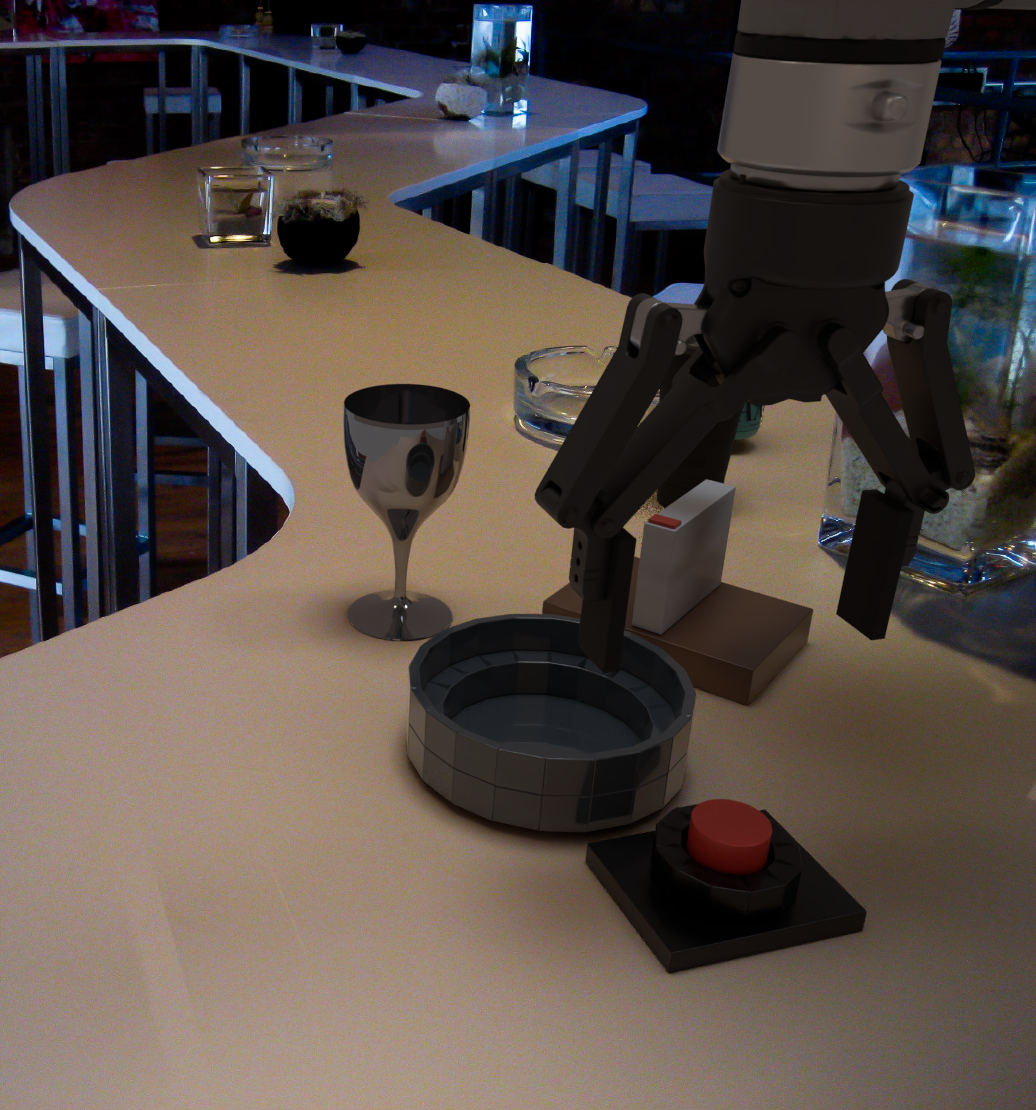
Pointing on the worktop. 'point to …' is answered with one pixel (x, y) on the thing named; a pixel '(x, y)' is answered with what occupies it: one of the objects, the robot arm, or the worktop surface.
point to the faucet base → (719, 636)
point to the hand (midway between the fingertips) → (731, 642)
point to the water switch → (719, 896)
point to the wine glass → (404, 489)
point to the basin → (547, 724)
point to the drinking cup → (708, 454)
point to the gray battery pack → (682, 555)
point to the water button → (729, 836)
